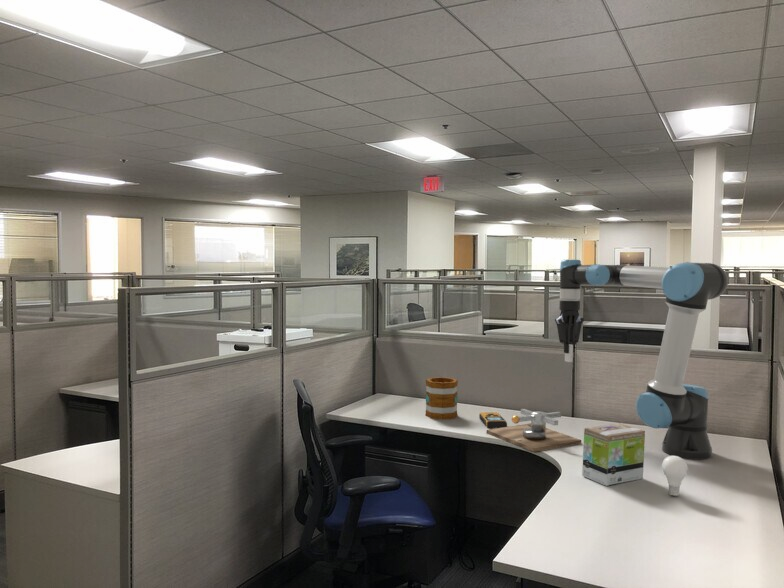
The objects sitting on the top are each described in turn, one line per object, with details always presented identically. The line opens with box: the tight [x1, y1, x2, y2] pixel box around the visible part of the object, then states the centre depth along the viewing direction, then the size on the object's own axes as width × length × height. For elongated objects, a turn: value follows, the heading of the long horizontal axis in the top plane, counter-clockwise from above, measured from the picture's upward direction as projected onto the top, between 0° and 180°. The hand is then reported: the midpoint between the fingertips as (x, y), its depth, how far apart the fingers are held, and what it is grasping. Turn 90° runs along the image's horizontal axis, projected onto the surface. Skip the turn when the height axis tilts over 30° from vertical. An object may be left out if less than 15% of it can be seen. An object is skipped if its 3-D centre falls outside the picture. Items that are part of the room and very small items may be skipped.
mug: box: [425, 376, 459, 421], centre depth 254 cm, size 20×14×15 cm
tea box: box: [581, 422, 646, 487], centre depth 177 cm, size 15×10×15 cm, turn 117°
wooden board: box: [486, 422, 582, 453], centre depth 219 cm, size 26×22×2 cm
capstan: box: [511, 408, 562, 440], centre depth 215 cm, size 21×19×8 cm
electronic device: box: [479, 411, 508, 429], centre depth 240 cm, size 8×16×3 cm, turn 3°
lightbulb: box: [661, 455, 689, 497], centre depth 163 cm, size 6×6×11 cm
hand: (568, 361), depth 230 cm, fingers closed
